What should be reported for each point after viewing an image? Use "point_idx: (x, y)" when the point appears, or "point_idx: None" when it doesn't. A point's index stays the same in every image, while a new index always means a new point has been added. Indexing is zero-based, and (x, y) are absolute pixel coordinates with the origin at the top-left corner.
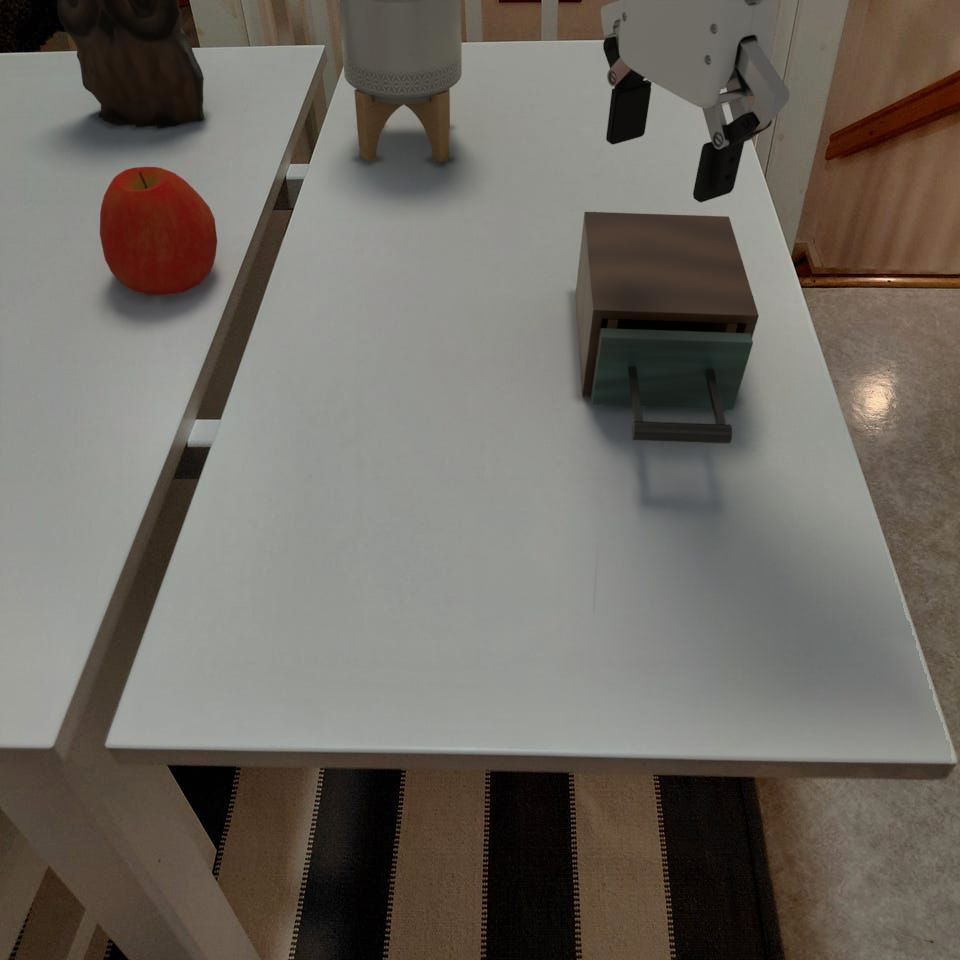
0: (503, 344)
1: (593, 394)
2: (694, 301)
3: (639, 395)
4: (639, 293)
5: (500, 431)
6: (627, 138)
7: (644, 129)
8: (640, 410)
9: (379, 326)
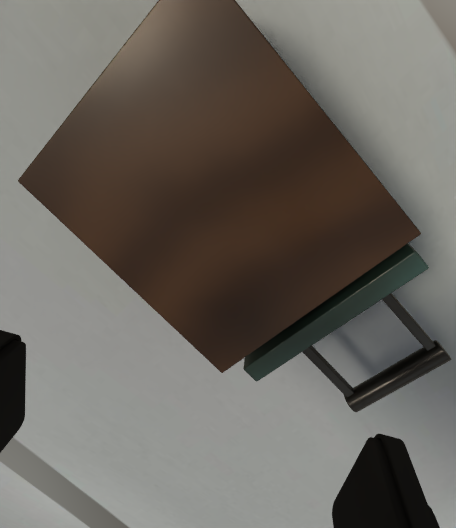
0: (121, 292)
1: None
2: (316, 272)
3: (326, 365)
4: (241, 307)
5: (216, 382)
6: (21, 391)
7: (12, 349)
8: (342, 383)
9: (26, 349)
